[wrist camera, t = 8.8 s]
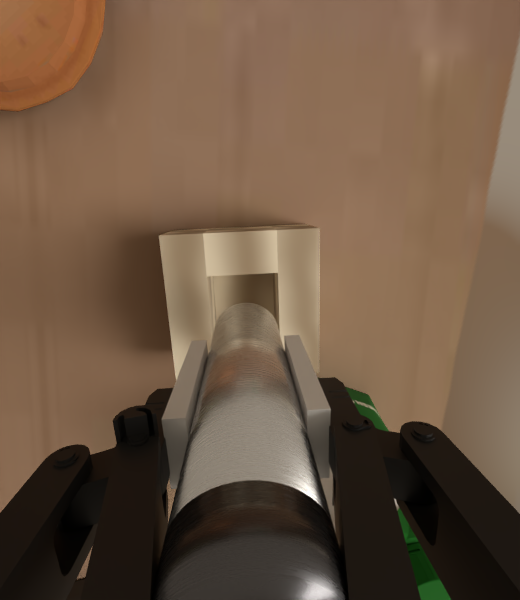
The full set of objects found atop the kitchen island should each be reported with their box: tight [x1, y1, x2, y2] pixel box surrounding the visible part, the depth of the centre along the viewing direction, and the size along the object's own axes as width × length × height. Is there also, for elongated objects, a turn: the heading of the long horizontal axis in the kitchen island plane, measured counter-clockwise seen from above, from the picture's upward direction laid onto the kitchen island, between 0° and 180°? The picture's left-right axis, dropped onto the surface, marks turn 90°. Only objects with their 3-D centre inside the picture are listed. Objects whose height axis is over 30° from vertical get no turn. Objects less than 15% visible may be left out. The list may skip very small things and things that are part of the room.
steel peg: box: [152, 303, 348, 600], centre depth 14 cm, size 4×4×16 cm
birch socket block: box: [159, 224, 320, 380], centre depth 30 cm, size 12×12×6 cm
